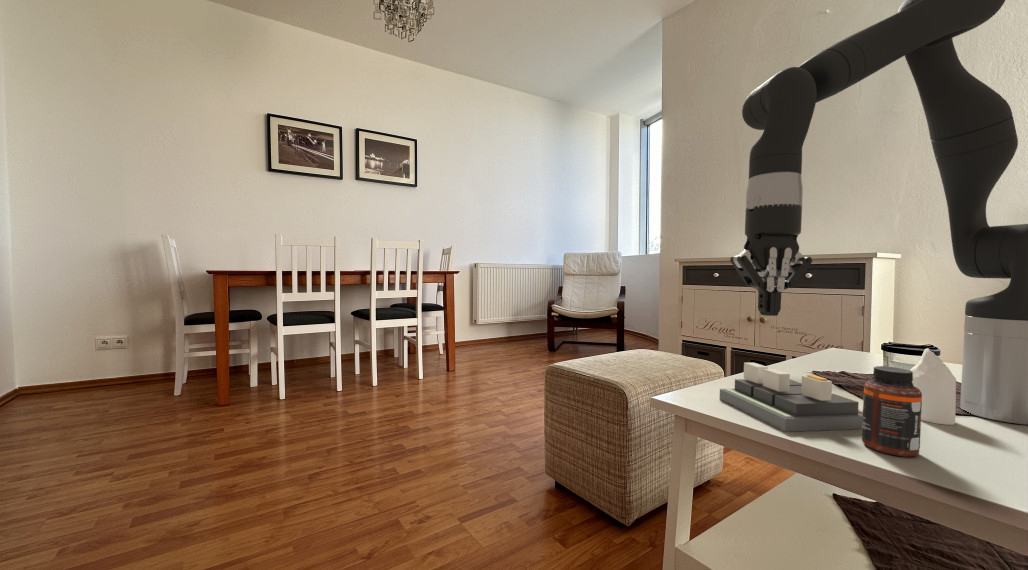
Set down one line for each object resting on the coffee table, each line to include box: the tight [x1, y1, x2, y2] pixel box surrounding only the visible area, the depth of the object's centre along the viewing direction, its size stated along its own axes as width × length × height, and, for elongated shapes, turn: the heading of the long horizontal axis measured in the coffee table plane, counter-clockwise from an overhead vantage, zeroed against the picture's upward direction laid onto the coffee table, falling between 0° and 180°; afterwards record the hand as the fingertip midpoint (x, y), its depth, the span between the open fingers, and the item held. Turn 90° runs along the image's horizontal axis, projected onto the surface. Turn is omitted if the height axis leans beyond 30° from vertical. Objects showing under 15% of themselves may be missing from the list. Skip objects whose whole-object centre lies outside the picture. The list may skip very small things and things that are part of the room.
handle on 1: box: [743, 362, 769, 383], centre depth 76 cm, size 2×4×3 cm, turn 7°
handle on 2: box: [763, 368, 791, 392], centre depth 71 cm, size 2×4×3 cm, turn 7°
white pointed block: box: [909, 347, 957, 426], centre depth 69 cm, size 6×12×6 cm
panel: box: [719, 378, 863, 433], centre depth 71 cm, size 16×16×4 cm
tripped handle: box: [801, 374, 833, 400], centre depth 66 cm, size 2×4×3 cm, turn 7°
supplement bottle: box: [861, 365, 922, 458], centre depth 56 cm, size 6×6×11 cm
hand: (768, 315), depth 64 cm, fingers closed
